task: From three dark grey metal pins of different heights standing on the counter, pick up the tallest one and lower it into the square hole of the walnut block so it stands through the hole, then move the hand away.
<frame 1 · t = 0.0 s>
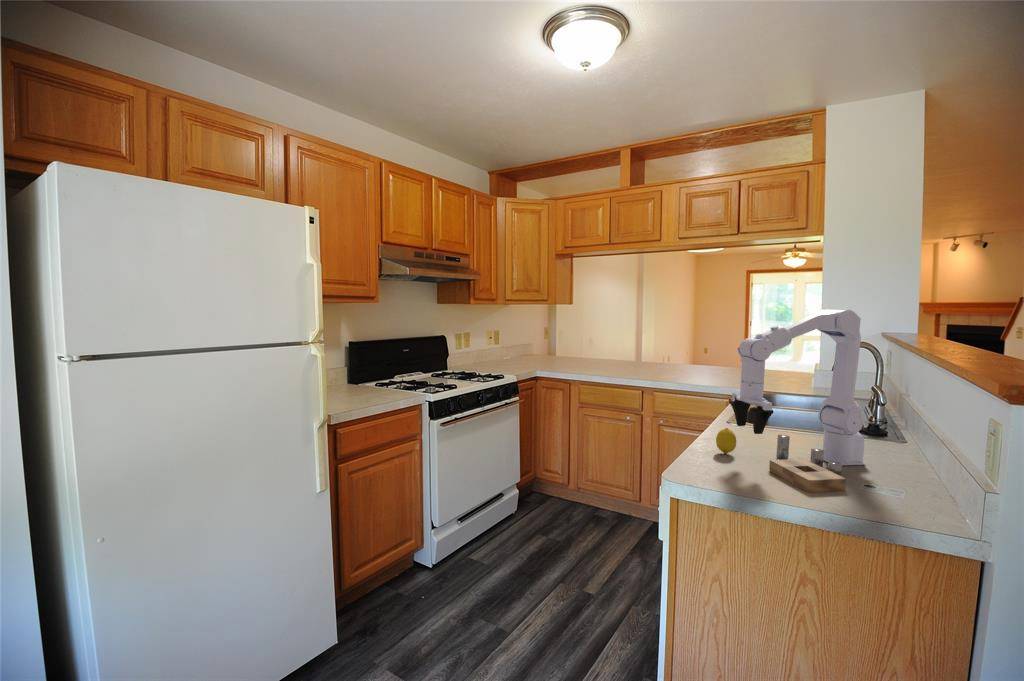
hand: (749, 429, 129), 10 cm above the counter, tool pointing down, fingers open, 7 cm apart
pin tall: (782, 459, 135), on the counter
hole block: (805, 480, 119), on the counter
pin short: (833, 475, 122), on the counter
pin medium: (816, 467, 128), on the counter
lemon: (725, 454, 139), on the counter
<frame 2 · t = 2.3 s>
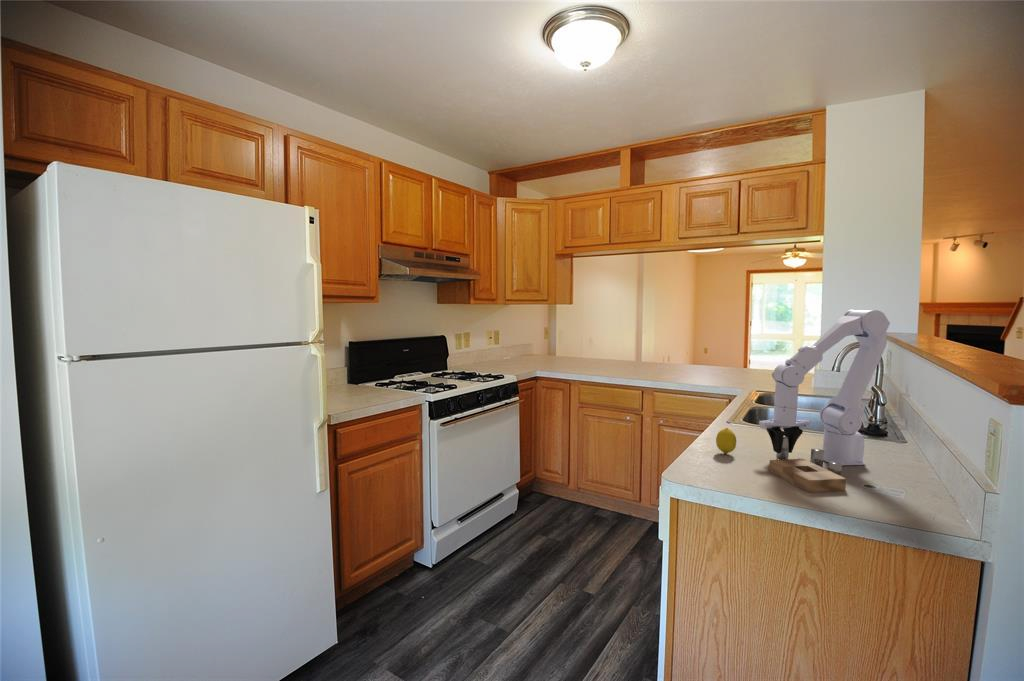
hand: (782, 451, 134), 2 cm above the counter, tool pointing down, fingers closed on pin tall, 3 cm apart
pin tall: (782, 459, 135), on the counter, touching gripper
everything else where it was.
when the fingers open (4 cm above the counter, at t = 5.4 s): pin tall drops 1 cm, resting in hole block.
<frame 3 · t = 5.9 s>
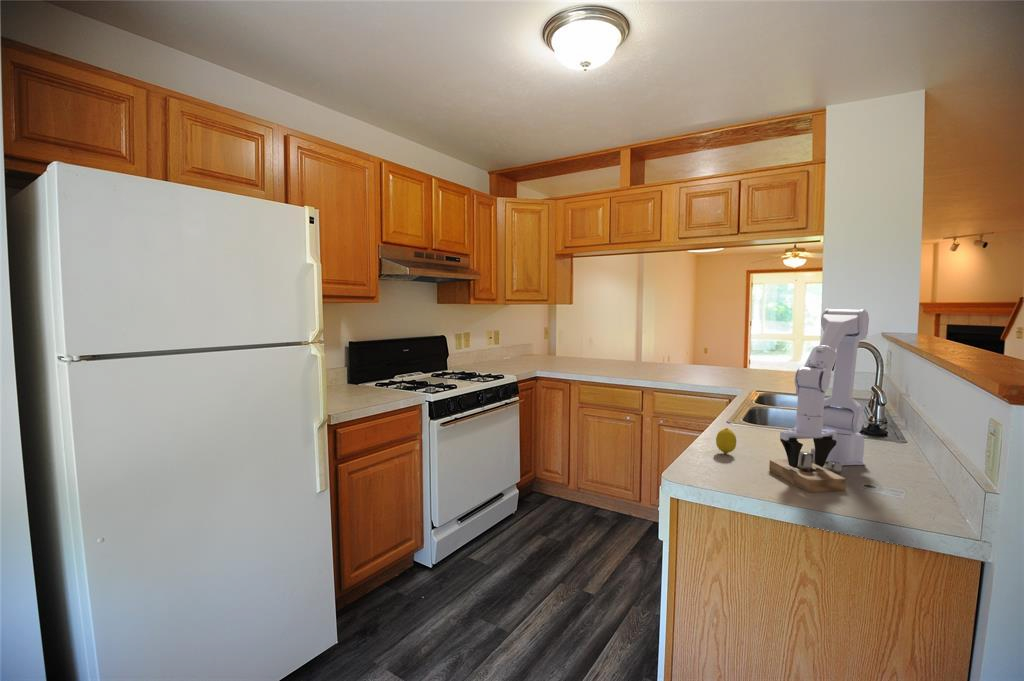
hand: (806, 465, 119), 4 cm above the counter, tool pointing down, fingers open, 7 cm apart
pin tall: (804, 479, 120), resting in hole block
everything else where it was.
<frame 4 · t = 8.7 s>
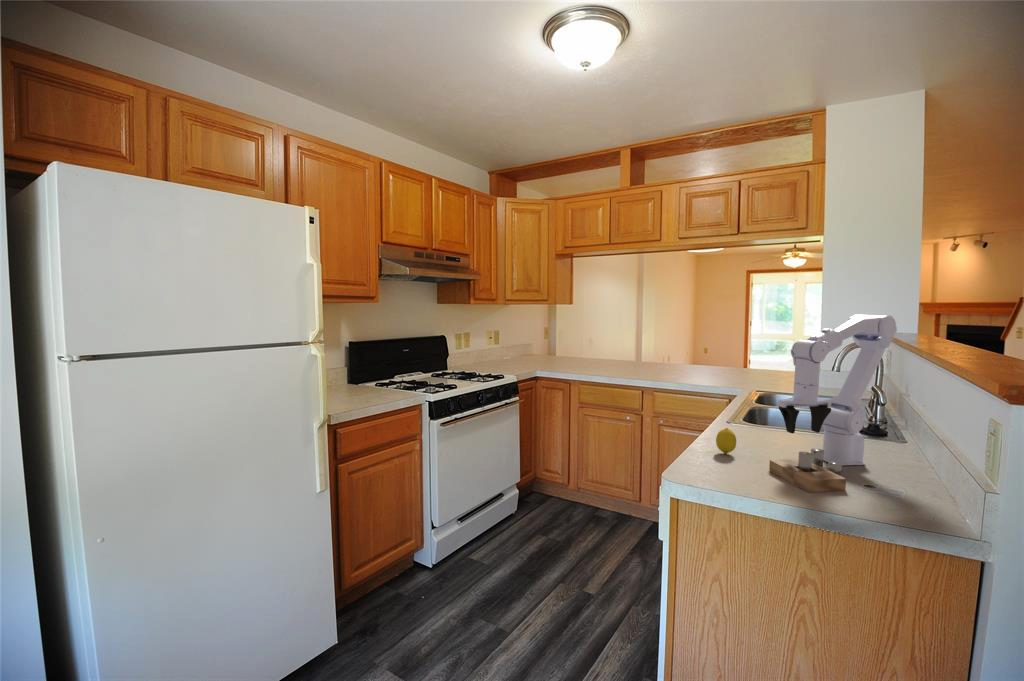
hand: (802, 432, 128), 10 cm above the counter, tool pointing down, fingers open, 7 cm apart
nothing on the counter moved.
at the end: pin tall 0.4 cm off-centre on the hole block, point 0.0 cm above the hole block's base; pin tall tilted 1°; the gripper is holding nothing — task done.
